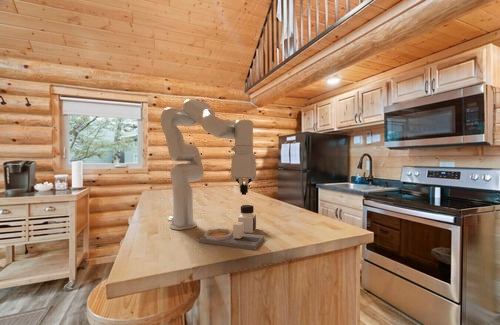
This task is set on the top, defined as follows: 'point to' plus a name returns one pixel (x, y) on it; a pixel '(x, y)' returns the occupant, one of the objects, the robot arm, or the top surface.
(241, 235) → the block
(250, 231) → the medicine bottle
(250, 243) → the grey tray
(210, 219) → the top surface
